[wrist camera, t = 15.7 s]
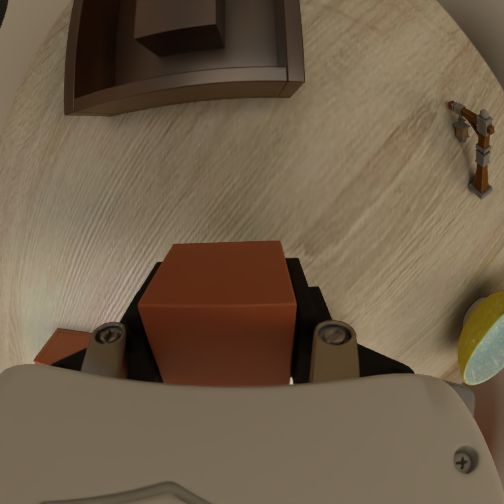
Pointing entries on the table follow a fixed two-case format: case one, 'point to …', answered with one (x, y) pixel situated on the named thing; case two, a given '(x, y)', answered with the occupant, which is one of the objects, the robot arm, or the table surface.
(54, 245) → the table surface
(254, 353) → the terracotta block
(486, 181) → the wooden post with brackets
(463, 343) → the bowl
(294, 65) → the walnut bin
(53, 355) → the terracotta bin
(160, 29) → the walnut block
